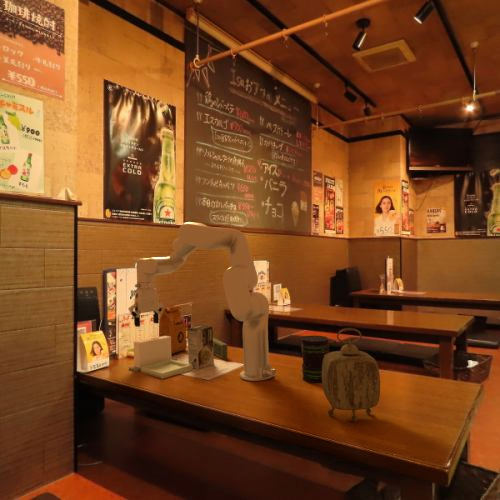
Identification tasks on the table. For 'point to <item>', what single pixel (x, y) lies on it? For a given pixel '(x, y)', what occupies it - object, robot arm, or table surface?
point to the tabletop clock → (350, 378)
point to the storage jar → (313, 357)
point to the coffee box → (200, 346)
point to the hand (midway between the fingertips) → (146, 324)
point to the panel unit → (151, 352)
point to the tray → (166, 368)
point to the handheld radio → (219, 349)
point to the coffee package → (173, 328)
